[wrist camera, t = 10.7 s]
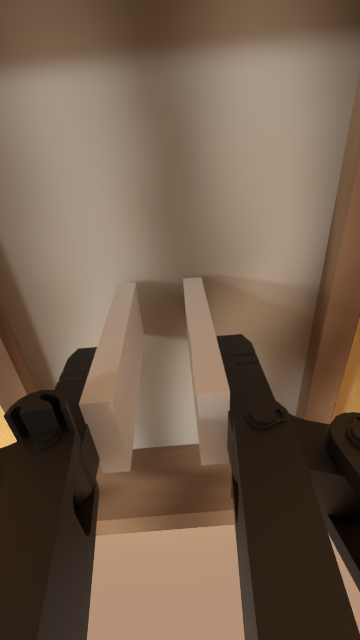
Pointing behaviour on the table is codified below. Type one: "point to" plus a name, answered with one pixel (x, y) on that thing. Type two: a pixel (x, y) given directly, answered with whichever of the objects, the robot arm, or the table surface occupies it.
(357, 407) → the table surface
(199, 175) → the wooden window with sill
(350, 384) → the table surface
